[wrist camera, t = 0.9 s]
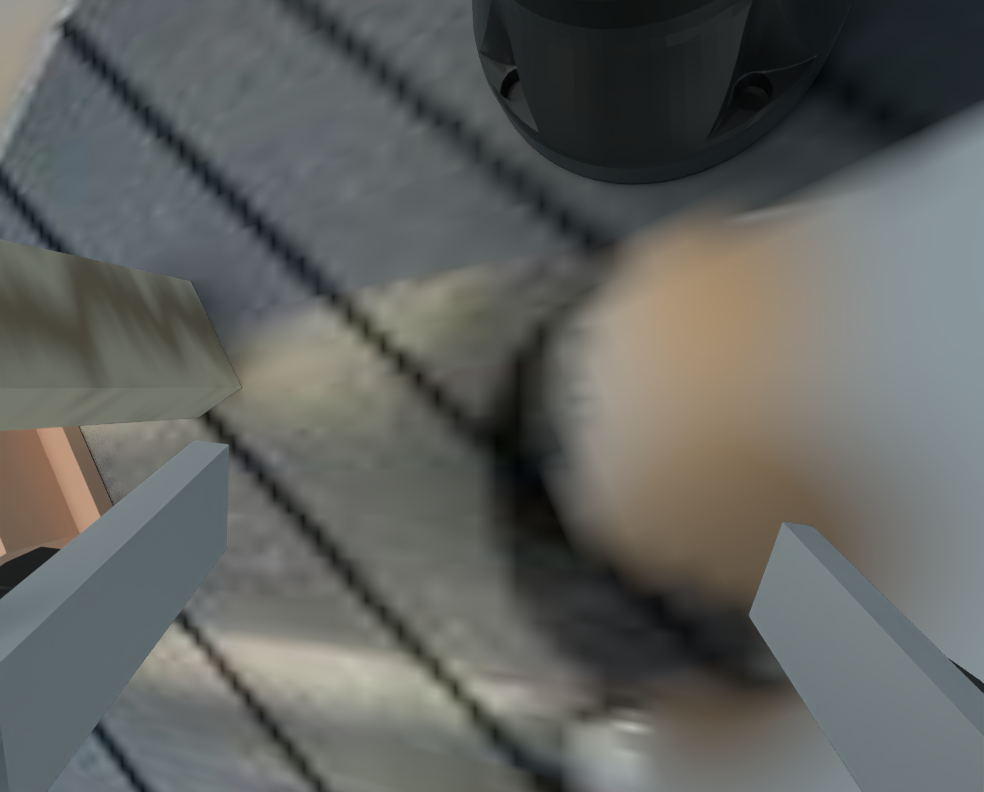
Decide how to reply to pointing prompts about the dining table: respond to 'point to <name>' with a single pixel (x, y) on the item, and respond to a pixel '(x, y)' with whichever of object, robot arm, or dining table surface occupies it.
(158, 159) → the dining table surface
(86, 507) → the pink slotted socket
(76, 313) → the mottled beige block
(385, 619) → the dining table surface
